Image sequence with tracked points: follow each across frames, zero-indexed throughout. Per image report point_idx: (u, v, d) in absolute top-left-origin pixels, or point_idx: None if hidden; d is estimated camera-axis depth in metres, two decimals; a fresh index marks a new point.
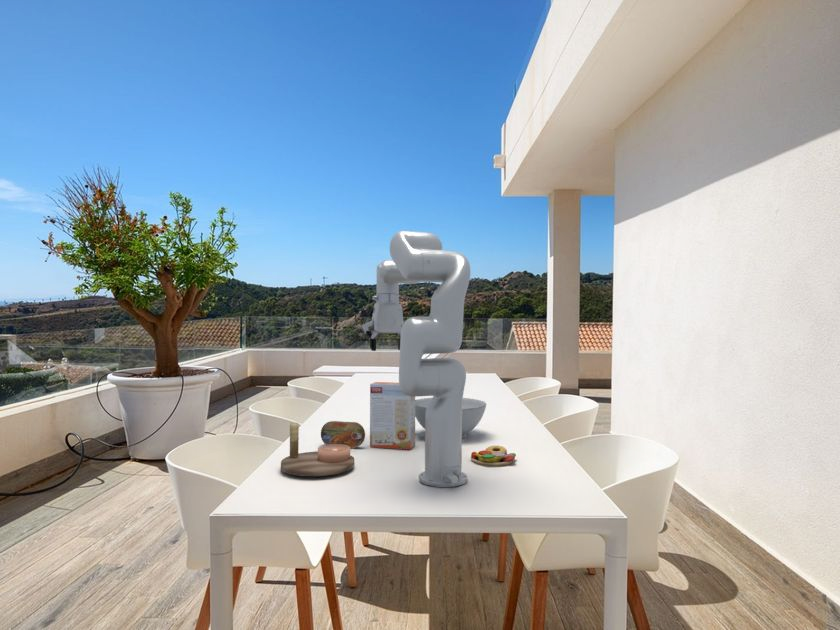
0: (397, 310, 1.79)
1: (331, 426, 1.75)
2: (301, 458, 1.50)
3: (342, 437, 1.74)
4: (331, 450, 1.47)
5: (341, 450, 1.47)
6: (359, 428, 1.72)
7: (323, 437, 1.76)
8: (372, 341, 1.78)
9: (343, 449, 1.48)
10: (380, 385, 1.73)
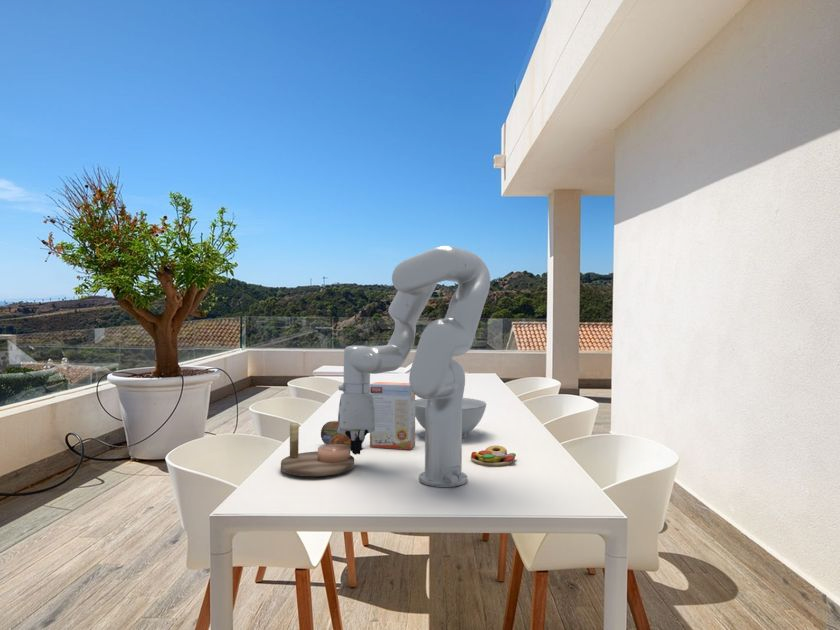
0: (368, 402, 1.51)
1: (331, 426, 1.75)
2: (301, 458, 1.50)
3: (342, 437, 1.74)
4: (331, 450, 1.47)
5: (341, 450, 1.47)
6: None
7: (323, 437, 1.76)
8: (353, 443, 1.52)
9: (343, 449, 1.48)
10: (380, 385, 1.73)
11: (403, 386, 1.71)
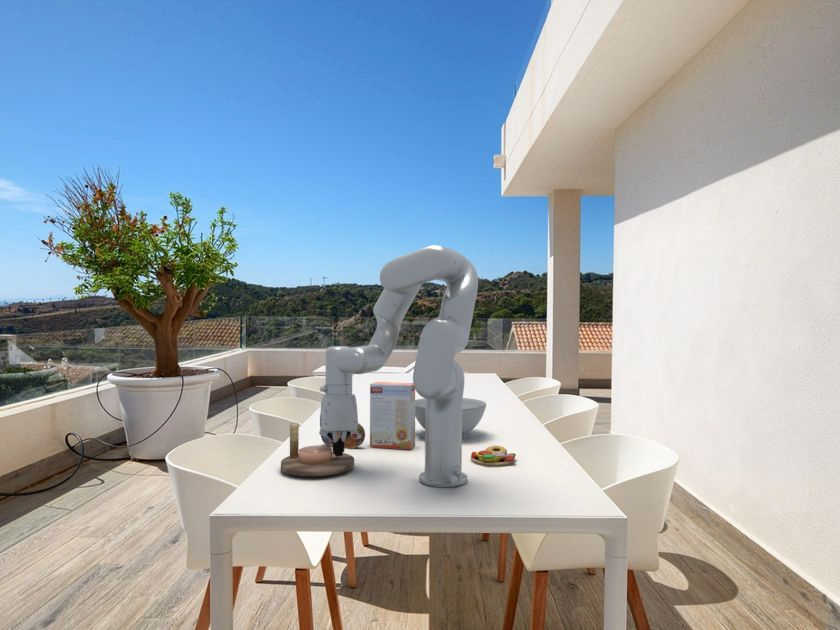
0: (350, 403, 1.49)
1: None
2: None
3: None
4: (311, 452, 1.45)
5: (322, 452, 1.45)
6: (359, 428, 1.72)
7: (323, 437, 1.76)
8: (335, 445, 1.49)
9: (324, 451, 1.46)
10: (380, 385, 1.73)
11: (403, 386, 1.71)
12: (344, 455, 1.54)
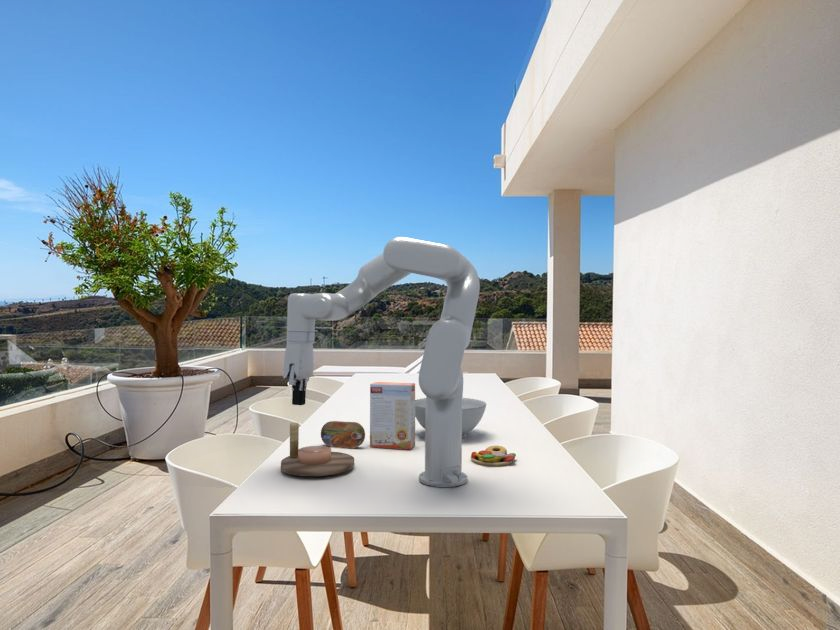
0: None
1: (331, 426, 1.75)
2: None
3: (342, 437, 1.74)
4: (311, 452, 1.45)
5: (321, 452, 1.45)
6: (359, 428, 1.72)
7: (323, 437, 1.76)
8: None
9: (323, 451, 1.46)
10: (380, 385, 1.73)
11: (403, 386, 1.71)
12: (344, 455, 1.54)
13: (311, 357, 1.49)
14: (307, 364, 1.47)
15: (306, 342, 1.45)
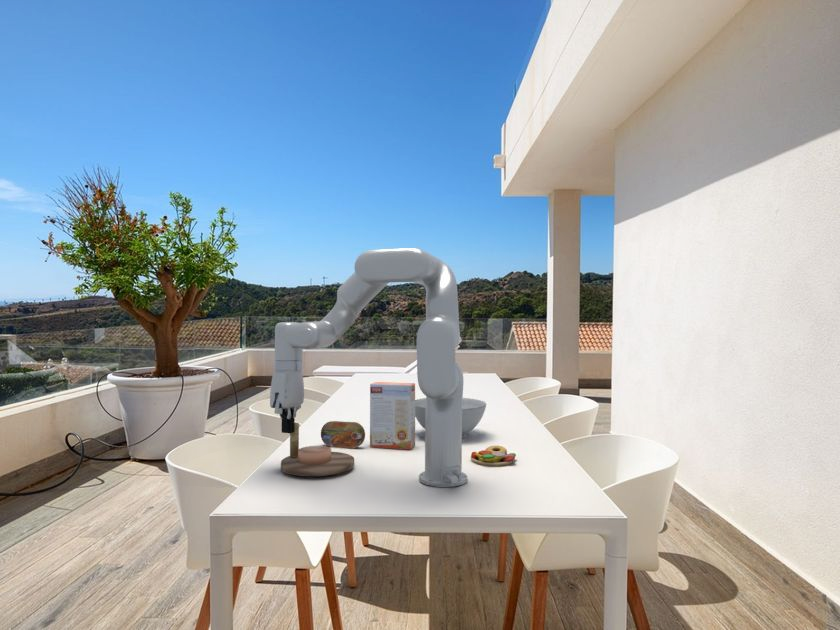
0: None
1: (331, 426, 1.75)
2: None
3: (342, 437, 1.74)
4: (311, 452, 1.45)
5: (321, 452, 1.45)
6: (359, 428, 1.72)
7: (323, 437, 1.76)
8: None
9: (323, 451, 1.46)
10: (380, 385, 1.73)
11: (403, 386, 1.71)
12: (344, 455, 1.53)
13: (300, 385, 1.50)
14: (294, 392, 1.48)
15: (291, 370, 1.46)
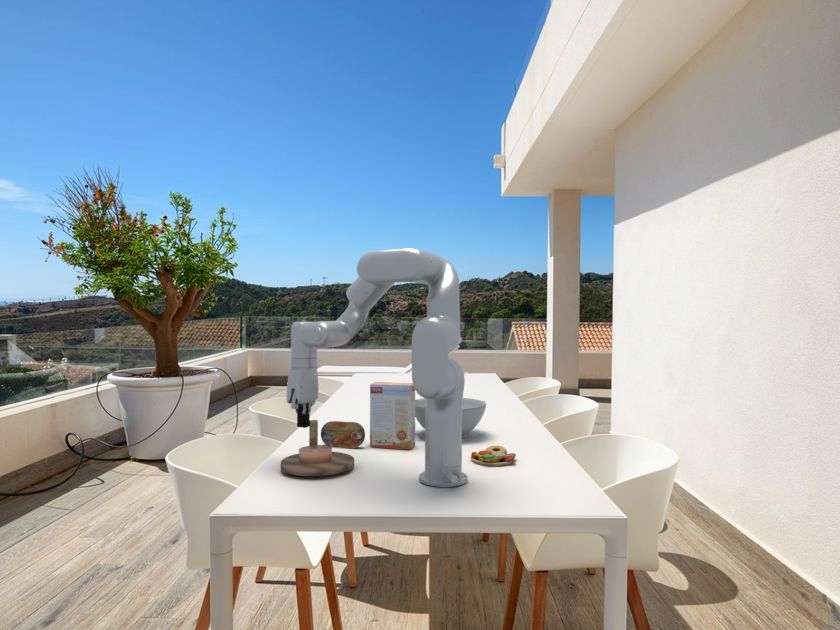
0: None
1: (331, 426, 1.75)
2: None
3: (342, 437, 1.74)
4: (305, 450, 1.47)
5: (310, 452, 1.45)
6: (359, 428, 1.72)
7: (323, 437, 1.76)
8: None
9: (314, 451, 1.45)
10: (380, 385, 1.73)
11: (403, 386, 1.71)
12: (347, 461, 1.47)
13: (315, 382, 1.57)
14: (309, 389, 1.55)
15: (307, 368, 1.53)
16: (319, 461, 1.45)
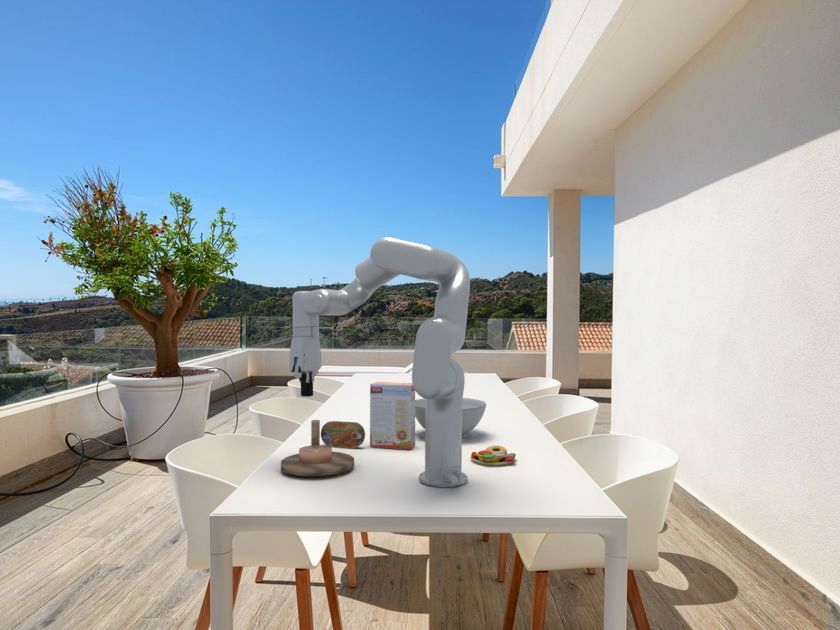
0: None
1: (331, 426, 1.75)
2: None
3: (342, 437, 1.74)
4: (304, 450, 1.47)
5: (310, 452, 1.45)
6: (359, 428, 1.72)
7: (323, 437, 1.76)
8: None
9: (313, 451, 1.45)
10: (380, 385, 1.73)
11: (404, 386, 1.71)
12: (346, 462, 1.47)
13: (317, 351, 1.58)
14: (312, 357, 1.55)
15: (309, 336, 1.53)
16: (318, 461, 1.45)
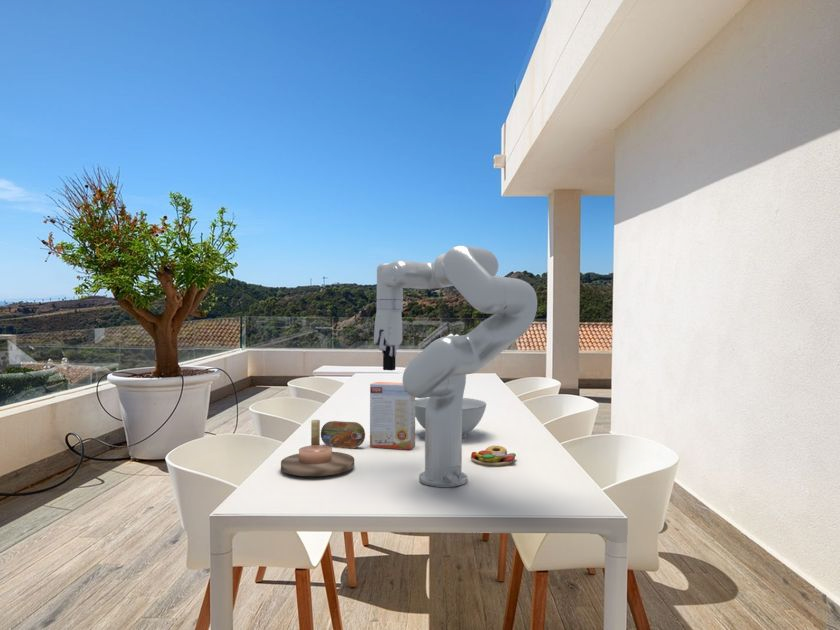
0: None
1: (331, 426, 1.75)
2: None
3: (342, 437, 1.74)
4: (304, 450, 1.47)
5: (309, 452, 1.45)
6: (359, 428, 1.72)
7: (323, 437, 1.76)
8: None
9: (313, 451, 1.45)
10: (380, 385, 1.73)
11: (403, 386, 1.71)
12: (346, 462, 1.47)
13: (400, 325, 1.56)
14: (396, 331, 1.53)
15: (394, 309, 1.51)
16: (318, 461, 1.45)
